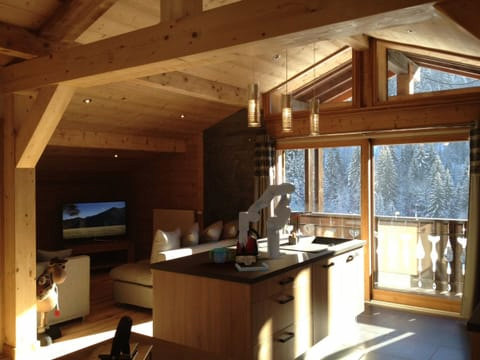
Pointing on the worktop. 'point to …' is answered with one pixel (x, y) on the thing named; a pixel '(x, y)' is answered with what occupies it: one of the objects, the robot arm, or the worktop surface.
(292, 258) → the worktop surface
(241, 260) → the T block
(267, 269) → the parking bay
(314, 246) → the worktop surface
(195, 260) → the worktop surface
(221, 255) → the snack cup
